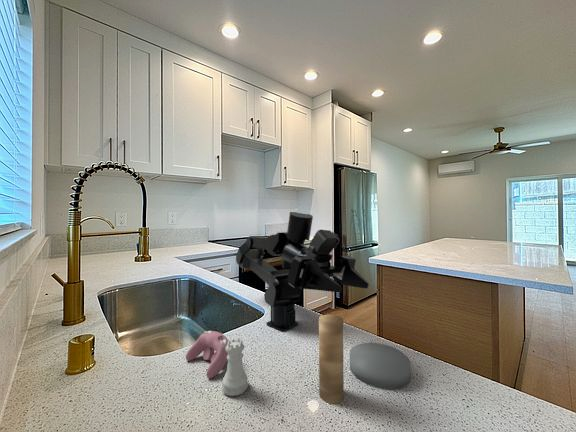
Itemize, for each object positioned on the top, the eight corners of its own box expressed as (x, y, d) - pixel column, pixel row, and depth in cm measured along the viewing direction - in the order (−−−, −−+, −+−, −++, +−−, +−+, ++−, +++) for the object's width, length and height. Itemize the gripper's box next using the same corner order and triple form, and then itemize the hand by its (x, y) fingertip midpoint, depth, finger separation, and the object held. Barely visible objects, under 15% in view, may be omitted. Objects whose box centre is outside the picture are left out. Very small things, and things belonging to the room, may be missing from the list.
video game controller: (226, 380, 48) (240, 341, 50) (207, 380, 45) (222, 338, 47) (200, 360, 55) (213, 327, 57) (182, 359, 52) (196, 323, 54)
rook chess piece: (216, 392, 42) (215, 344, 43) (233, 377, 46) (233, 334, 46) (236, 401, 40) (236, 351, 40) (253, 384, 44) (253, 339, 44)
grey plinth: (339, 370, 48) (339, 357, 48) (365, 348, 56) (365, 337, 56) (398, 398, 41) (398, 383, 41) (418, 368, 49) (418, 355, 49)
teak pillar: (314, 395, 42) (314, 319, 42) (328, 383, 45) (327, 312, 45) (335, 407, 39) (334, 326, 39) (348, 394, 42) (347, 318, 42)
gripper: (281, 222, 54) (336, 247, 43) (336, 229, 66) (390, 250, 55) (269, 271, 56) (319, 308, 44) (325, 268, 68) (375, 297, 56)
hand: (355, 287), depth 50 cm, fingers open, 9 cm apart
